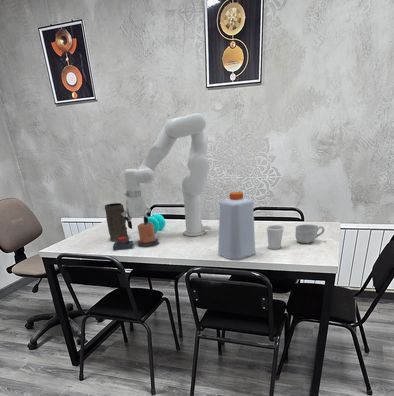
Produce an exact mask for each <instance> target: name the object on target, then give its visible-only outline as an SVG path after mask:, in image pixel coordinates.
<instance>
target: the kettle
mask: <svg viewBox="0 0 394 396" xmlns="http://www.w3.org/2000/svg"><path fill="white" fill-rule="evenodd" d="M137 230H138V237H139V240H140V242H142V243H150V242H153V241H155V238H156V235H155V234H156V233H154V225H153V224H152V223H144V222H142V223H139V224H138V225H137Z"/></svg>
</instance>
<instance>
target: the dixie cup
mask: <svg viewBox="0 0 394 396" xmlns="http://www.w3.org/2000/svg"><path fill="white" fill-rule="evenodd" d="M284 229H285V227H284V226H283V225H281V224H277V225H276V224H273V225H268V226H266V232H267V233H266V235H267V246H268V249H269V250H279V249H281V245H282V239H283V234H284Z"/></svg>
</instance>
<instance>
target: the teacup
mask: <svg viewBox="0 0 394 396" xmlns="http://www.w3.org/2000/svg"><path fill="white" fill-rule="evenodd" d="M320 229H321V232H320V233H318V232H319V230H320ZM324 233H325V227H324V226H322V225H320V226H318V225H316V224H308V223H307V224H298V225H296V226H295V240H296V241H297V242H298V243H300V244H310V243H313V242H314V241H315V240H316V239H317V238H319V237H320V236H322V235H323V234H324Z"/></svg>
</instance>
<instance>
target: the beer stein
mask: <svg viewBox="0 0 394 396" xmlns="http://www.w3.org/2000/svg"><path fill="white" fill-rule="evenodd" d="M124 211H125V208H124V204H122V203H120V202H114V203H108V204H105V205H104V212H105V216H106V218H105V219H106V224H107V229H108V230H107V231H108V234H109V240H110V241H111V242H116V240H118V238H119V237H126V239H129V235H128V226H127V221H126V220H125V219H124V217H123V216H122V213H123V212H124ZM125 216H126V217H127V214H126V215H125Z"/></svg>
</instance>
